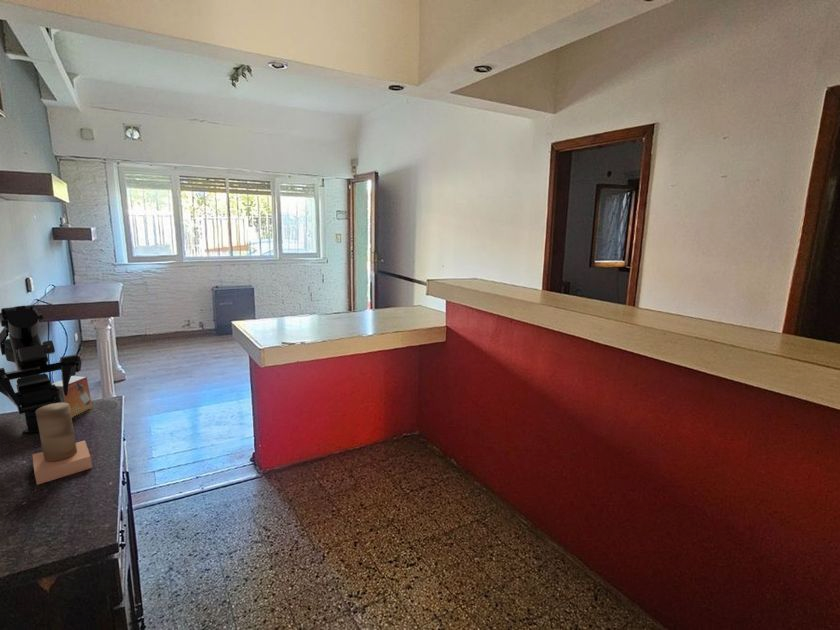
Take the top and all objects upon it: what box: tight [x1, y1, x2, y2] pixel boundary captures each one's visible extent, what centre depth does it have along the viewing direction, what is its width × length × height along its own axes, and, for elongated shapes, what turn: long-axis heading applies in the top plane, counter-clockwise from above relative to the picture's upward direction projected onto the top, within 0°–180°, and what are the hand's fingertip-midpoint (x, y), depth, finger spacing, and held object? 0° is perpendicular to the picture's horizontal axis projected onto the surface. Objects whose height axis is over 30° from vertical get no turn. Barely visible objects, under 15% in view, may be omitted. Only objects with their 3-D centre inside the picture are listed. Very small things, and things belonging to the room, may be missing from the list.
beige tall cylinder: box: [35, 403, 77, 462], centre depth 102 cm, size 6×6×12 cm
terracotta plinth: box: [32, 440, 93, 486], centre depth 103 cm, size 10×10×3 cm
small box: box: [52, 375, 93, 418], centre depth 130 cm, size 8×6×10 cm
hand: (43, 400), depth 109 cm, fingers open, 9 cm apart
